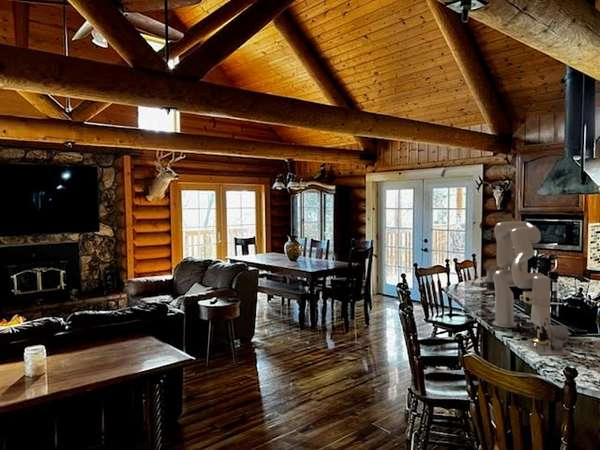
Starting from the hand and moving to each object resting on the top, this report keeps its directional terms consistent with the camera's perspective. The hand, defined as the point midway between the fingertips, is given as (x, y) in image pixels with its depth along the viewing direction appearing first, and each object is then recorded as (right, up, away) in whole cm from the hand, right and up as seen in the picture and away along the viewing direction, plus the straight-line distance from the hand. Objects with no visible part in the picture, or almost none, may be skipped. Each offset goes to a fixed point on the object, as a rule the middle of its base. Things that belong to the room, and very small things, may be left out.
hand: (541, 339), depth 214 cm
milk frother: (+37, +3, +147) cm, 151 cm away
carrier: (+1, -4, -2) cm, 5 cm away
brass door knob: (0, -2, 0) cm, 2 cm away
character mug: (+28, -1, +65) cm, 71 cm away
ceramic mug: (+14, -4, +9) cm, 17 cm away
